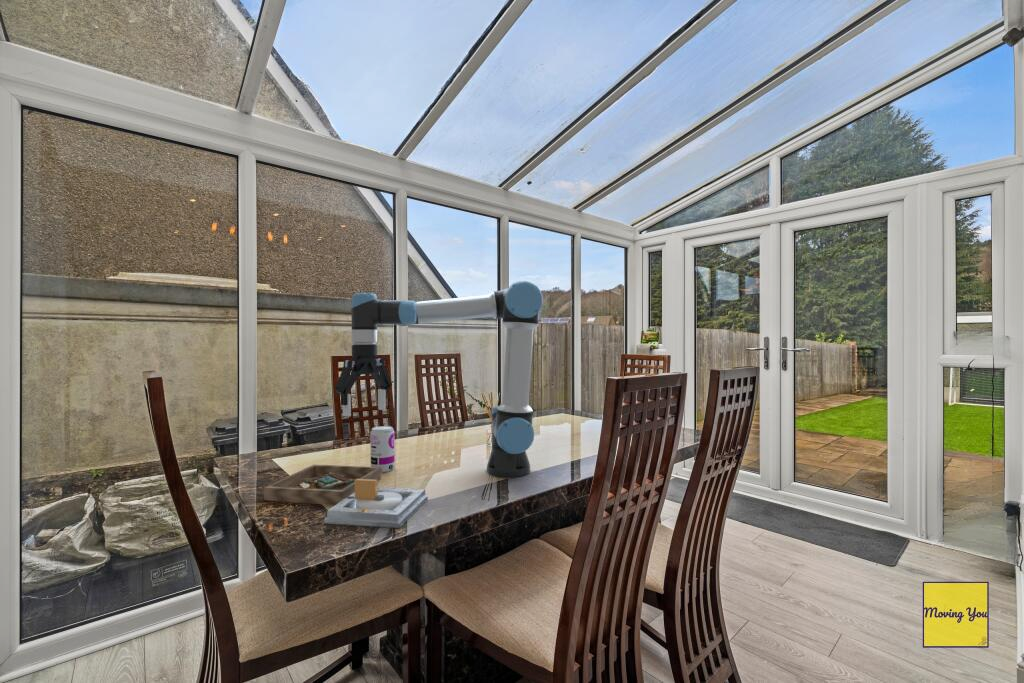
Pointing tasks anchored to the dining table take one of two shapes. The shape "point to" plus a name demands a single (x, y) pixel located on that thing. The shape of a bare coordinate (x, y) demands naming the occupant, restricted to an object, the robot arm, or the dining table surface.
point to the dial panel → (394, 518)
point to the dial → (374, 496)
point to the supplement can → (382, 448)
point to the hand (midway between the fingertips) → (365, 412)
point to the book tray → (287, 493)
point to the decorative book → (329, 482)
